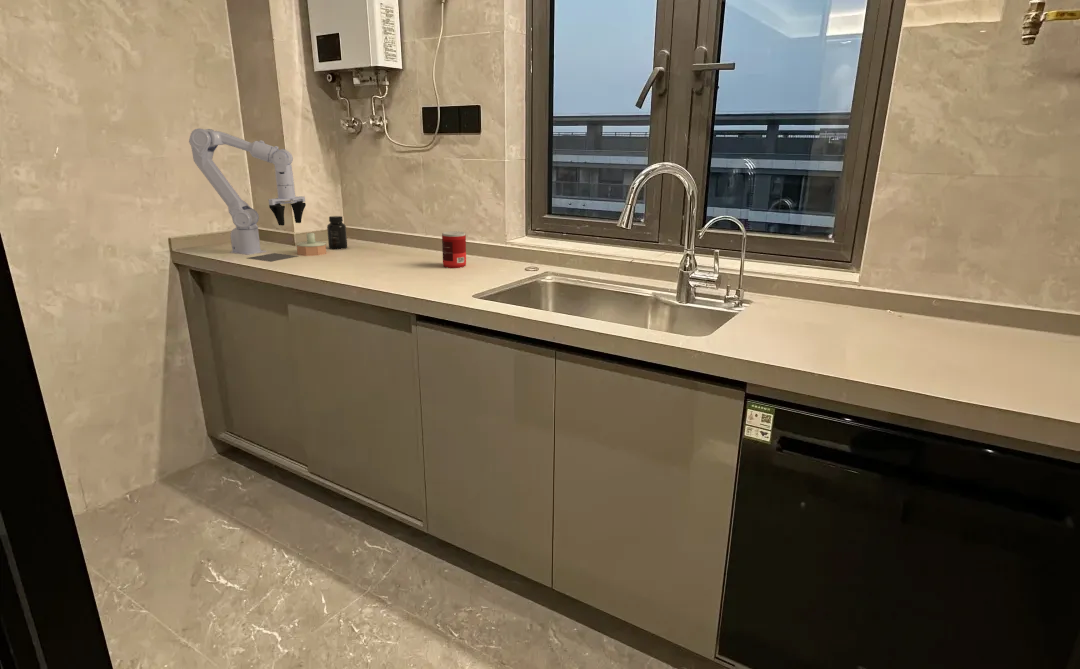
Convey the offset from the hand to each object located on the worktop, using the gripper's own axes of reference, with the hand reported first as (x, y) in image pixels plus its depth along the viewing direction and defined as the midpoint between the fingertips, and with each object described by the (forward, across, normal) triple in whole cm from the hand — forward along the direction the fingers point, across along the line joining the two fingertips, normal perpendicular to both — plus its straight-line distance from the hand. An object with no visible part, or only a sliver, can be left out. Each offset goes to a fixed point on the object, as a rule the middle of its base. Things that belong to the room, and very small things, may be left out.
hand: (290, 224), depth 222 cm
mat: (+10, -11, -2) cm, 15 cm away
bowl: (+10, +2, -8) cm, 13 cm away
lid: (+7, +2, -8) cm, 10 cm away
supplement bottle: (+11, +17, -6) cm, 21 cm away
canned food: (+12, +10, -64) cm, 65 cm away
